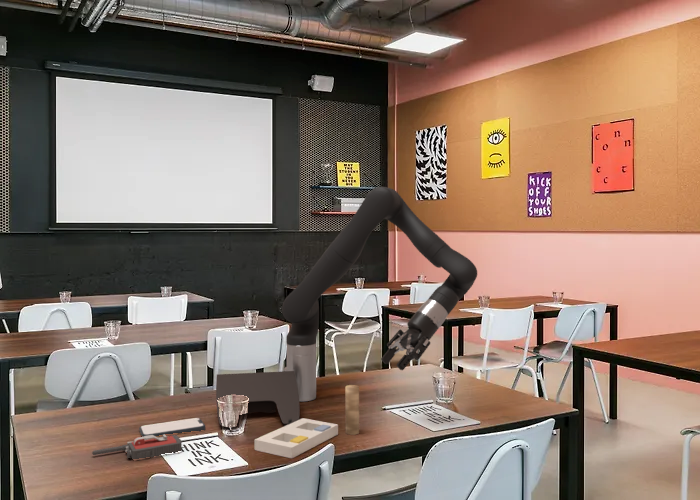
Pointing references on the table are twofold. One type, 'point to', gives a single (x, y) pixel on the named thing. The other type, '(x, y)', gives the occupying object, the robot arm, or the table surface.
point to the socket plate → (296, 437)
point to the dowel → (352, 409)
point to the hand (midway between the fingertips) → (391, 365)
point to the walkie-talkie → (147, 446)
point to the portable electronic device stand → (263, 392)
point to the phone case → (172, 427)
